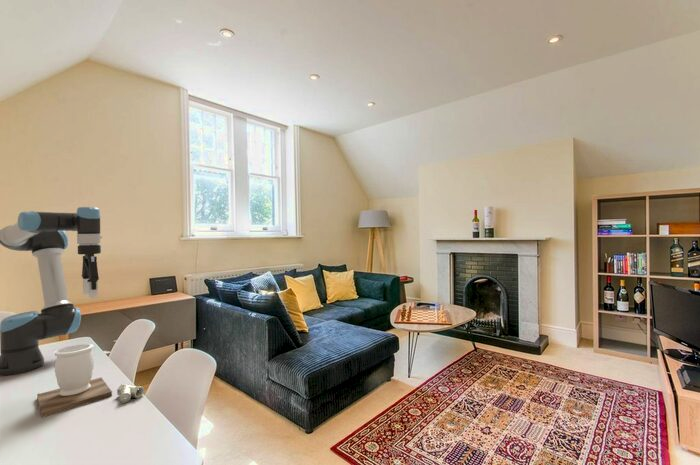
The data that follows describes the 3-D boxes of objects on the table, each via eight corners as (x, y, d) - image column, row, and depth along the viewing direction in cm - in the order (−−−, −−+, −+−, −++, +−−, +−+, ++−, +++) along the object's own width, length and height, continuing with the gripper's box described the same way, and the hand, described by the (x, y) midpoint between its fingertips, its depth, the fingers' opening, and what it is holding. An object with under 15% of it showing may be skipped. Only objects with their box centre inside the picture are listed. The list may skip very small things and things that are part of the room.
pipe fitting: (126, 406, 109) (144, 395, 116) (125, 394, 109) (143, 384, 116) (108, 403, 112) (126, 392, 118) (107, 392, 111) (125, 382, 118)
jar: (59, 401, 110) (58, 355, 110) (52, 392, 116) (51, 349, 116) (98, 388, 118) (97, 346, 118) (89, 381, 124) (88, 341, 124)
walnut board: (37, 398, 115) (37, 394, 115) (101, 381, 128) (101, 377, 128) (41, 417, 103) (41, 412, 103) (111, 395, 116) (111, 391, 116)
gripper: (107, 244, 132) (108, 298, 132) (94, 244, 149) (95, 291, 149) (82, 245, 126) (84, 301, 126) (72, 244, 143) (73, 293, 143)
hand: (90, 295), depth 137 cm, fingers open, 13 cm apart
